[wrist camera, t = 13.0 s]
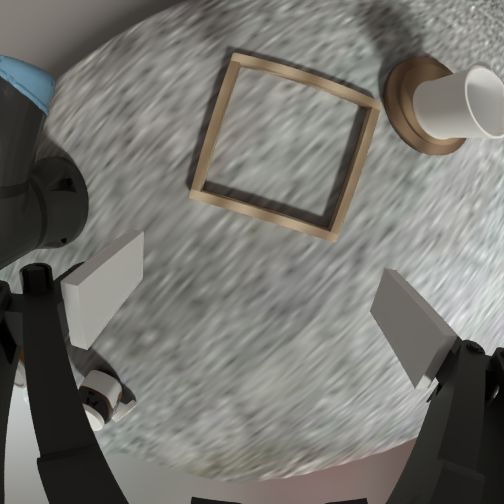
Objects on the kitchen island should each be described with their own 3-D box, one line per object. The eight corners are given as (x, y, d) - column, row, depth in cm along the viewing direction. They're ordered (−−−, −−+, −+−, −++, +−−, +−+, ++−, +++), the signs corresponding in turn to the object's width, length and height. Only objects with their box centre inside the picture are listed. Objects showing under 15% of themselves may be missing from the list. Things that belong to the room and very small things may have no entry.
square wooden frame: (192, 195, 40) (188, 197, 38) (234, 57, 33) (233, 52, 31) (332, 238, 41) (335, 242, 39) (377, 104, 34) (382, 102, 32)
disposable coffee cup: (46, 364, 53) (21, 394, 42) (20, 334, 51) (-8, 362, 40) (59, 349, 51) (31, 382, 40) (31, 317, 49) (-1, 346, 38)
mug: (435, 55, 28) (483, 34, 17) (474, 96, 29) (526, 89, 18) (402, 110, 31) (452, 99, 20) (444, 151, 33) (499, 157, 21)
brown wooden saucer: (372, 128, 35) (380, 127, 32) (394, 43, 31) (403, 36, 28) (451, 170, 36) (463, 172, 33) (470, 90, 31) (481, 87, 28)
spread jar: (91, 359, 51) (65, 396, 40) (140, 379, 52) (120, 420, 41) (95, 394, 55) (74, 429, 44) (139, 412, 56) (122, 450, 44)
